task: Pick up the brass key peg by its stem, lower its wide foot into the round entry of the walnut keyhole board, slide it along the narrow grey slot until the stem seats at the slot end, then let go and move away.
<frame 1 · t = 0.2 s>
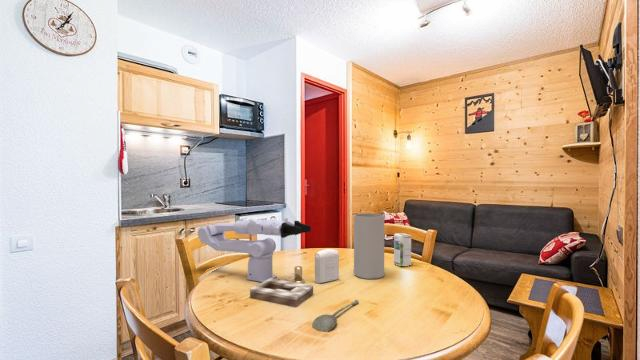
hand: (305, 229, 116), 21 cm above the table, tool horizontal, fingers open, 7 cm apart
keyhole board: (282, 295, 107), on the table
cylinder vase: (369, 275, 129), on the table
soupspoon: (339, 318, 91), on the table
drink can: (402, 265, 143), on the table
brass key peg: (298, 282, 120), on the table
photo printer: (326, 281, 122), on the table
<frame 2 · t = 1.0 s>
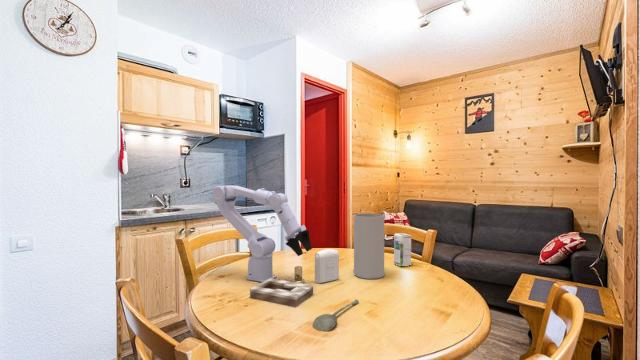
hand: (305, 252, 118), 12 cm above the table, tool tilted 30°, fingers open, 7 cm apart
nothing on the table moved.
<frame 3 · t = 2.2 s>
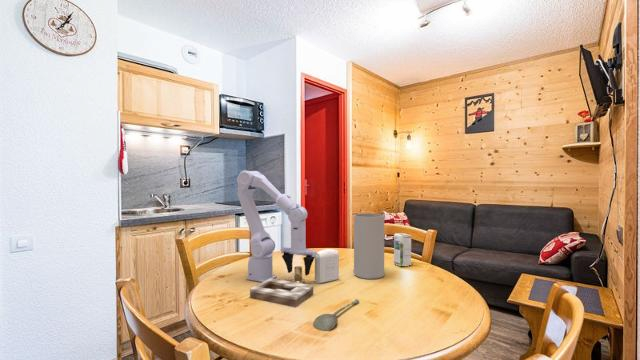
hand: (298, 273, 120), 4 cm above the table, tool pointing down, fingers open, 7 cm apart
nothing on the table moved.
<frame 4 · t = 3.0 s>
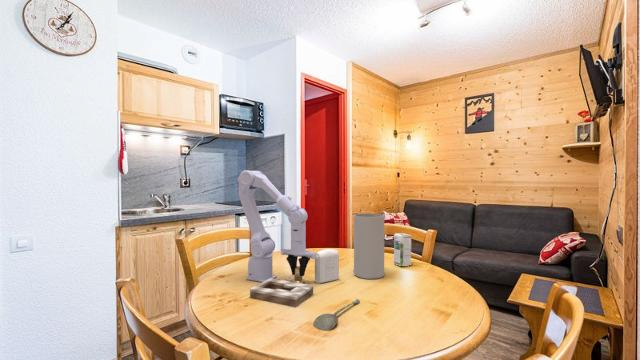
hand: (298, 275, 120), 3 cm above the table, tool pointing down, fingers closed on brass key peg, 3 cm apart
brass key peg: (298, 282, 120), on the table, touching gripper
everything else where it was.
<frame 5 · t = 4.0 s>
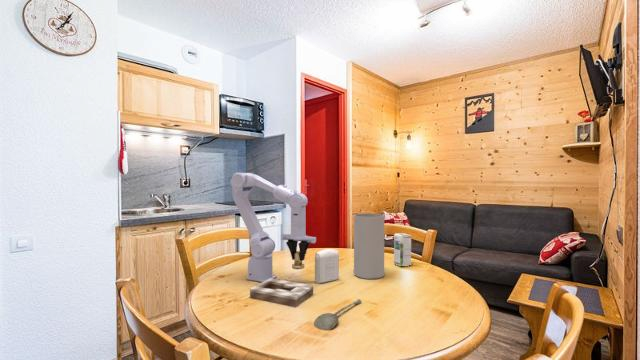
hand: (298, 259, 120), 9 cm above the table, tool pointing down, fingers closed on brass key peg, 3 cm apart
brass key peg: (298, 267, 120), point 6 cm above the table, touching gripper
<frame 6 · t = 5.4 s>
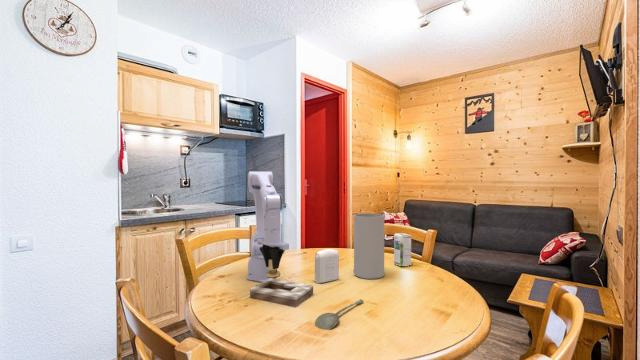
hand: (272, 267, 108), 9 cm above the table, tool pointing down, fingers closed on brass key peg, 3 cm apart
brass key peg: (273, 275, 109), point 6 cm above the table, touching gripper
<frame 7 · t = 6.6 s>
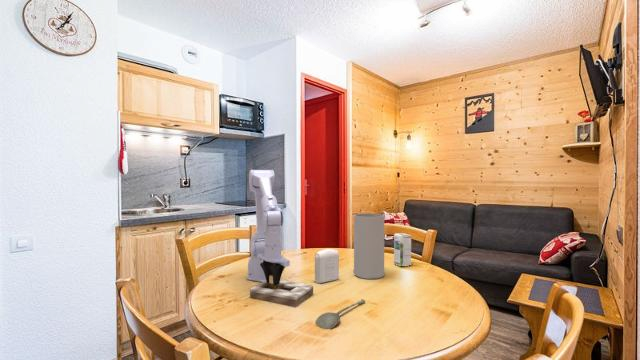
hand: (273, 283, 108), 4 cm above the table, tool pointing down, fingers closed on brass key peg, 3 cm apart
brass key peg: (273, 291, 109), point 1 cm above the table, touching gripper
when the fingers open (4 cm above the table, at t = 8.0 s): brass key peg stays where it is, resting on keyhole board.
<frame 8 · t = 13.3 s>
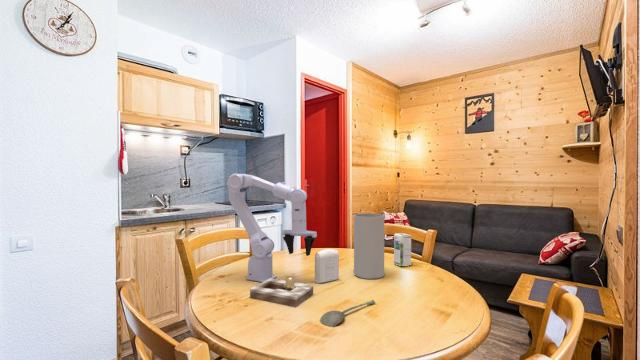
hand: (299, 254, 122), 10 cm above the table, tool pointing down, fingers open, 7 cm apart
soupspoon: (350, 315, 93), on the table
brass key peg: (290, 295, 106), point 1 cm above the table, touching keyhole board
everything else where it was.
at the end: brass key peg 0.4 cm from the target spot on the keyhole board, point 0.6 cm above the keyhole board's base; brass key peg tilted 0°; the gripper is holding nothing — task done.
